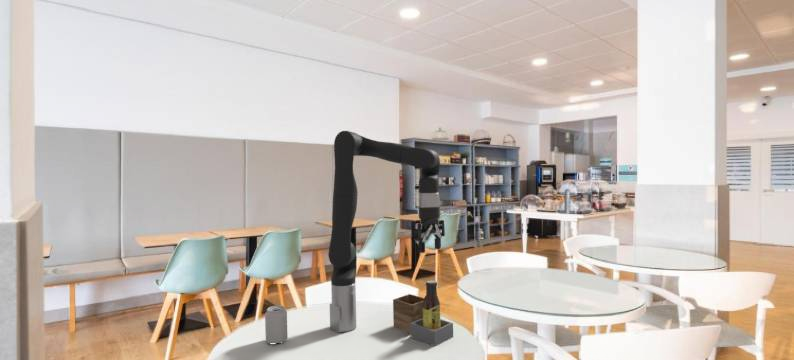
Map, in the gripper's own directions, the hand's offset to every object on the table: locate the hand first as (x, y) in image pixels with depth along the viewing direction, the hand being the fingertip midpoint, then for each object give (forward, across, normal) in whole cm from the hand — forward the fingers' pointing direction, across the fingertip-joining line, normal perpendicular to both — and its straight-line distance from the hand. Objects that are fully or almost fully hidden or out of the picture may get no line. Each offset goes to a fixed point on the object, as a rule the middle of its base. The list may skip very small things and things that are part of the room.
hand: (430, 250), depth 141 cm
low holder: (+31, 0, 0) cm, 31 cm away
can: (+31, +40, -38) cm, 64 cm away
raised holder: (+31, -2, -12) cm, 33 cm away
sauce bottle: (+31, 0, 0) cm, 31 cm away
